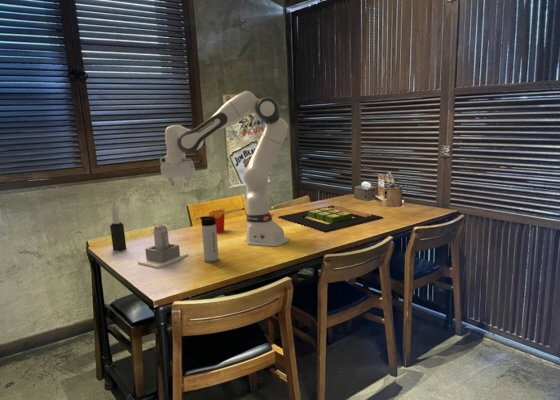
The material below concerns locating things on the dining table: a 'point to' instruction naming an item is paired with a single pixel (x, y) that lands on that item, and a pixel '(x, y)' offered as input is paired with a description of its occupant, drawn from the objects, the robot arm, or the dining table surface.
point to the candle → (117, 230)
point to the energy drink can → (161, 237)
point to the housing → (162, 256)
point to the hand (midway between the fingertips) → (179, 186)
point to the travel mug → (209, 239)
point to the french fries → (218, 218)
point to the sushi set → (330, 218)
